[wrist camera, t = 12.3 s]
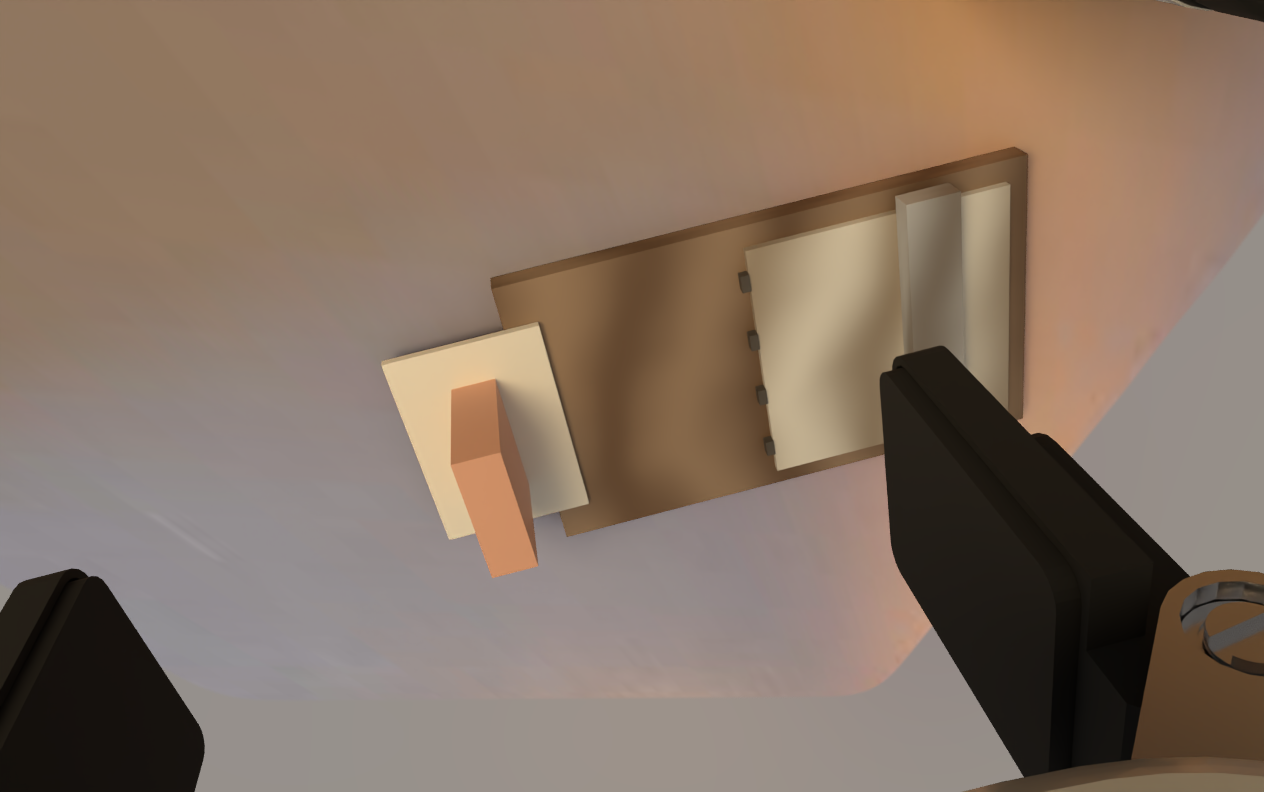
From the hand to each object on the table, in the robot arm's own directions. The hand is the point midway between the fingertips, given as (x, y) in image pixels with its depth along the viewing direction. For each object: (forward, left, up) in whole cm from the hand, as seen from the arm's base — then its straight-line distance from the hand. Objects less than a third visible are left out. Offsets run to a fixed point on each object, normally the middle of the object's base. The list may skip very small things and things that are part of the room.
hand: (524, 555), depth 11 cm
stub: (+4, +16, -29) cm, 33 cm away
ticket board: (-10, +16, -30) cm, 36 cm away
